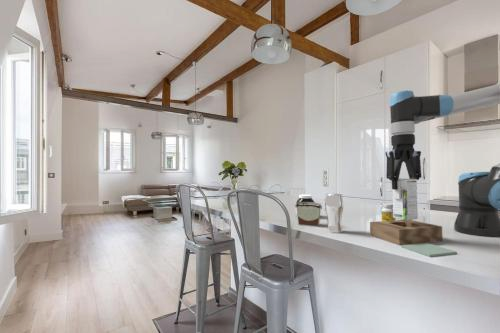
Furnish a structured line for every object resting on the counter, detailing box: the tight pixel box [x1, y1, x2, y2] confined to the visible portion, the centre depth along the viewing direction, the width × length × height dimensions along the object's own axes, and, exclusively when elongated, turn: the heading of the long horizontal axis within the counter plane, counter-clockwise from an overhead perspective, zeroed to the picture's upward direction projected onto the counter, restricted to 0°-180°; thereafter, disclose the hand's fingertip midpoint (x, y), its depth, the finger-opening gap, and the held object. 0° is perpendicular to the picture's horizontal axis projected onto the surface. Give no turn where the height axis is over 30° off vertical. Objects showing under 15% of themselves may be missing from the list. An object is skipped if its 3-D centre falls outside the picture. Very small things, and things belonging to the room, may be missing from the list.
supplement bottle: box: [381, 203, 396, 221], centre depth 118 cm, size 5×5×10 cm
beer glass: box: [324, 193, 344, 234], centre depth 109 cm, size 7×7×15 cm
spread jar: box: [295, 194, 315, 215], centre depth 145 cm, size 12×11×12 cm
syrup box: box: [392, 177, 419, 220], centre depth 98 cm, size 6×6×14 cm
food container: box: [294, 201, 323, 228], centre depth 123 cm, size 12×6×10 cm, turn 58°
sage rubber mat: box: [401, 242, 458, 258], centre depth 83 cm, size 10×10×1 cm
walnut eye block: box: [369, 219, 443, 246], centre depth 97 cm, size 18×14×5 cm
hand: (404, 198), depth 98 cm, fingers closed on syrup box, 6 cm apart
